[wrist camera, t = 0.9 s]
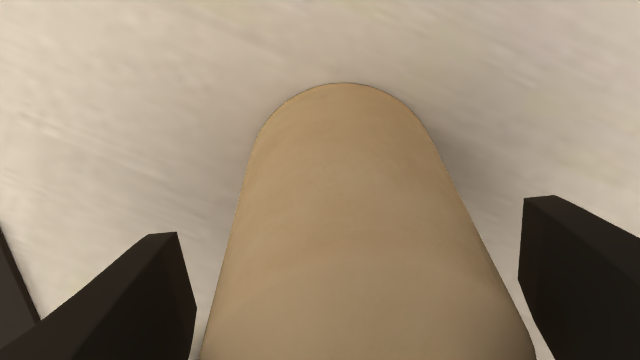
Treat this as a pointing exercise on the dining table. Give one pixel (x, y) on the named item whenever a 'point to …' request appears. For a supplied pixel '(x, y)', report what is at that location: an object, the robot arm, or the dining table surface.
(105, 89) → the dining table surface
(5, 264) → the mat
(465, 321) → the candle
